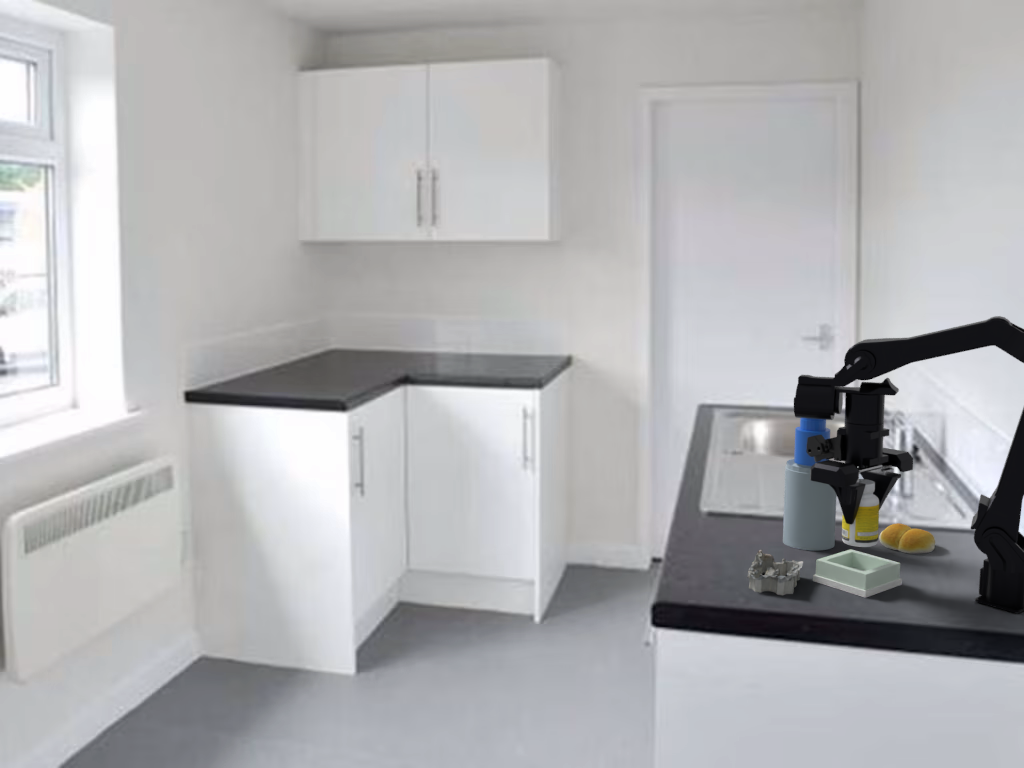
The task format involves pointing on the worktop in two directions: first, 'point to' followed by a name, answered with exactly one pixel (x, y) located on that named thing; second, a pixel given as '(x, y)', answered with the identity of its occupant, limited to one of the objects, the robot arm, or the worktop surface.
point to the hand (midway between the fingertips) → (860, 520)
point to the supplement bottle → (863, 520)
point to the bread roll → (907, 539)
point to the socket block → (857, 573)
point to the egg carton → (773, 574)
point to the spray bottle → (808, 496)
